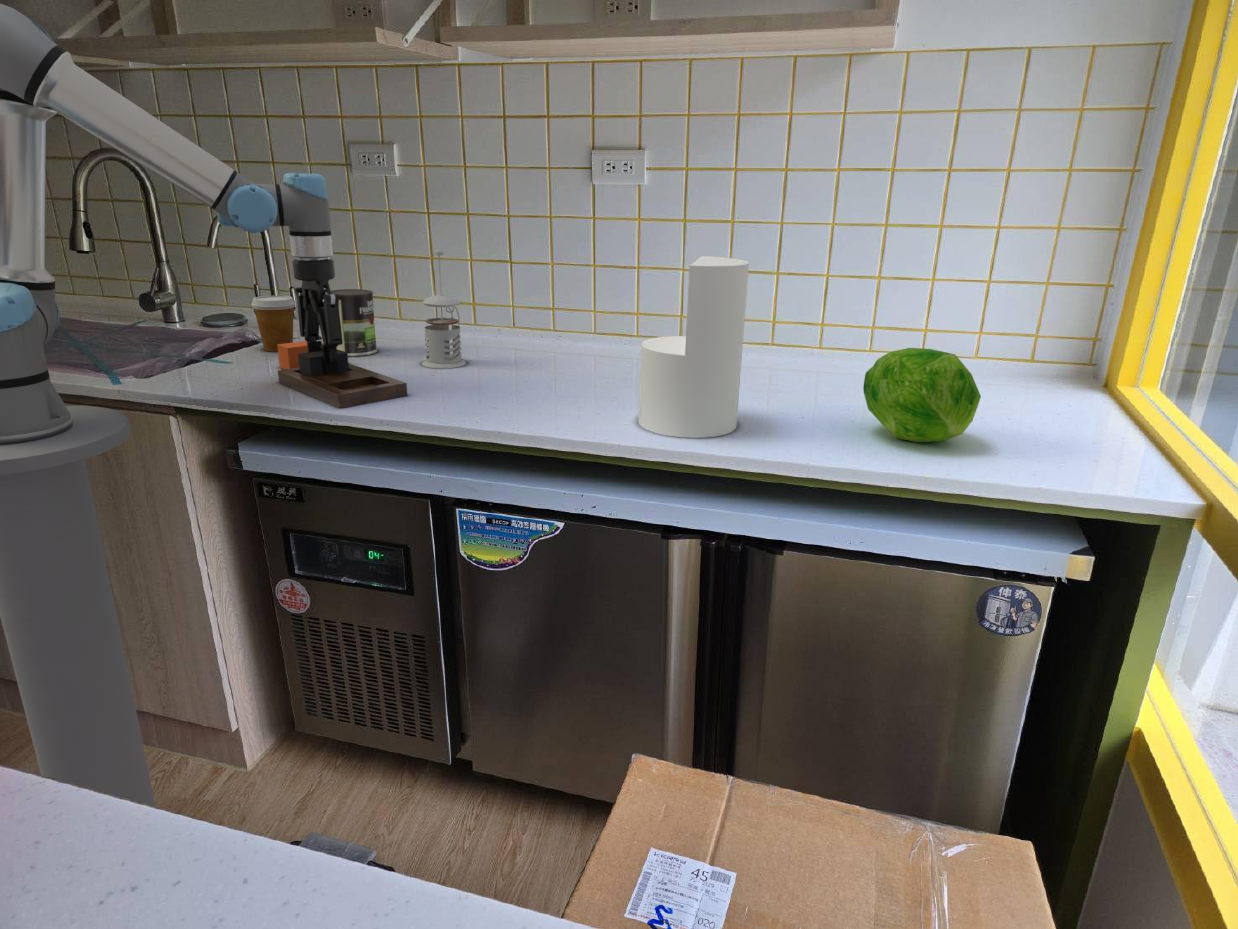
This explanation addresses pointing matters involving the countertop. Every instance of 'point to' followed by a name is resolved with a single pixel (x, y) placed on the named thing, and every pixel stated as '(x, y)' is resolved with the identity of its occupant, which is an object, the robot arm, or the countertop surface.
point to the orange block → (291, 354)
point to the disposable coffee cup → (274, 320)
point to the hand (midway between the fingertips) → (324, 375)
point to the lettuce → (921, 394)
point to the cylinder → (698, 357)
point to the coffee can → (356, 321)
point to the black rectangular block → (320, 363)
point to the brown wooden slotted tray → (345, 386)
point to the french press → (442, 333)
